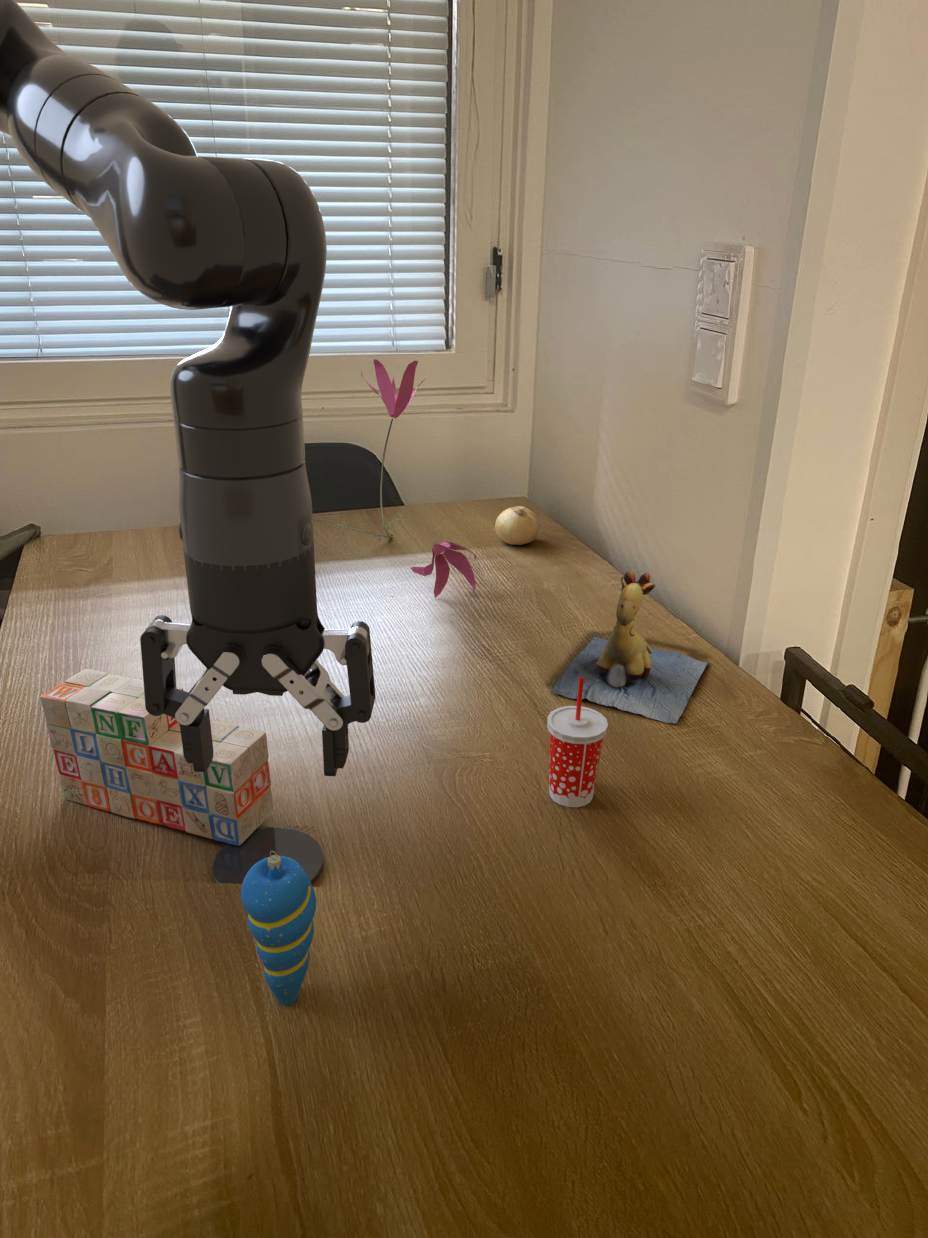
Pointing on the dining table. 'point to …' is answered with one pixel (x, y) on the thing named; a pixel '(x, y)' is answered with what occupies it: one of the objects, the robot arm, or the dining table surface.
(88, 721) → the stack of blocks
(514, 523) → the onion
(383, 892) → the dining table surface
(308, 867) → the slate coaster
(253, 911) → the ornament
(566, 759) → the beverage cup
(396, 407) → the decorative plant
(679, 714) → the stuffed giraffe
